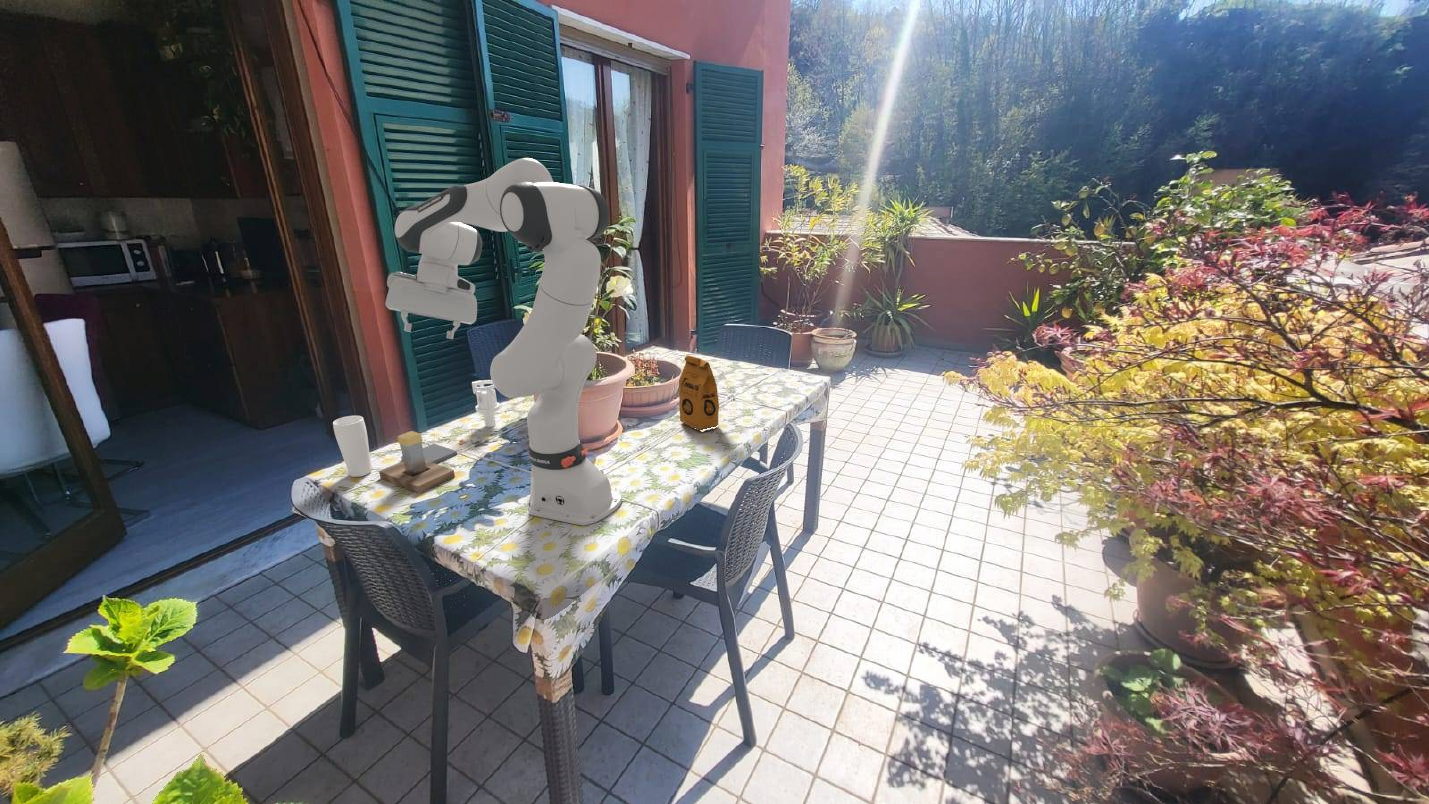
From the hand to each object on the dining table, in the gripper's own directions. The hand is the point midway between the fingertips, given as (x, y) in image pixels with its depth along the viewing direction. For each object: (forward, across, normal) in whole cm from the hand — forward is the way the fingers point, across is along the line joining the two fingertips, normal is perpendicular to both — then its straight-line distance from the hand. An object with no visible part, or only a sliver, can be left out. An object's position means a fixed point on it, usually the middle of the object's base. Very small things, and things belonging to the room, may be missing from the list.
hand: (428, 334), depth 140 cm
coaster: (+31, +6, +19) cm, 37 cm away
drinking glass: (+37, -10, +19) cm, 43 cm away
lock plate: (+36, +3, +9) cm, 37 cm away
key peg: (+36, +3, +9) cm, 37 cm away
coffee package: (+14, +79, 0) cm, 80 cm away
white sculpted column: (+21, +23, +33) cm, 46 cm away
